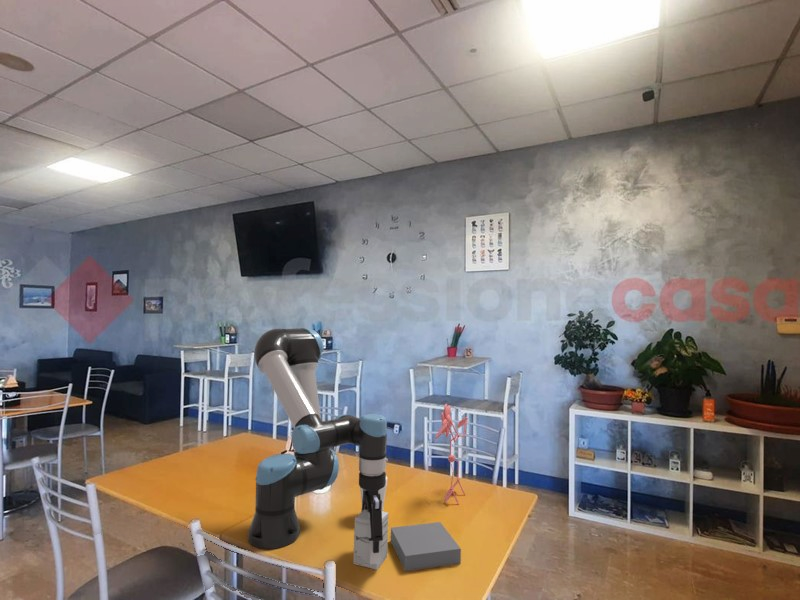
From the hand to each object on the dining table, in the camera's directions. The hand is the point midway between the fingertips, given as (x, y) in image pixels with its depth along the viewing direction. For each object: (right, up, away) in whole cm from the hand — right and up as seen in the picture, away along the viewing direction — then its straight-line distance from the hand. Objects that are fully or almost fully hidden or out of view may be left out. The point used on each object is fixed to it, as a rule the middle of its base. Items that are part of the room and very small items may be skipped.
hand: (370, 552), depth 120 cm
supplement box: (0, -2, 0) cm, 2 cm away
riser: (+15, -3, +5) cm, 16 cm away
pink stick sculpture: (+25, -5, +44) cm, 51 cm away
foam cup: (-1, -3, +27) cm, 27 cm away
